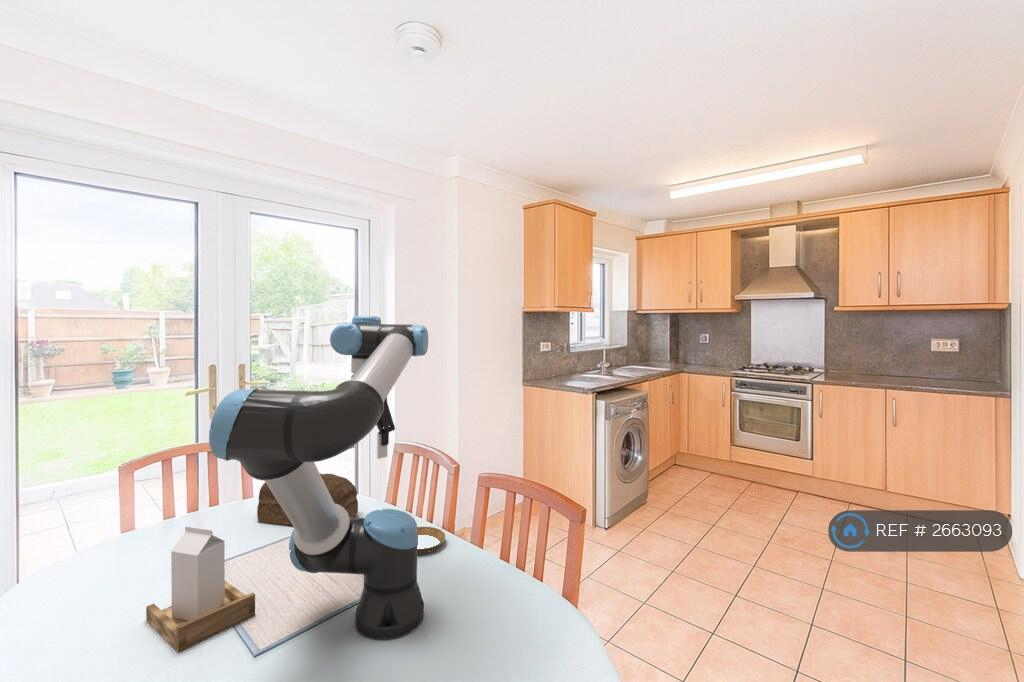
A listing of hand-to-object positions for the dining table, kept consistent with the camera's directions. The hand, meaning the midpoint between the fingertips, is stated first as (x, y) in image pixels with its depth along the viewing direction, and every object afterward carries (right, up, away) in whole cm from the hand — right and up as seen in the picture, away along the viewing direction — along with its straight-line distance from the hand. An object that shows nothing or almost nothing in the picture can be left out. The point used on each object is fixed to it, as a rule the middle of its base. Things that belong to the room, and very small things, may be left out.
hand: (365, 453), depth 126 cm
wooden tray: (-30, -32, -21) cm, 49 cm away
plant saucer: (+12, -32, +16) cm, 37 cm away
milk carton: (-31, -31, -20) cm, 48 cm away
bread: (-29, -30, +33) cm, 53 cm away
